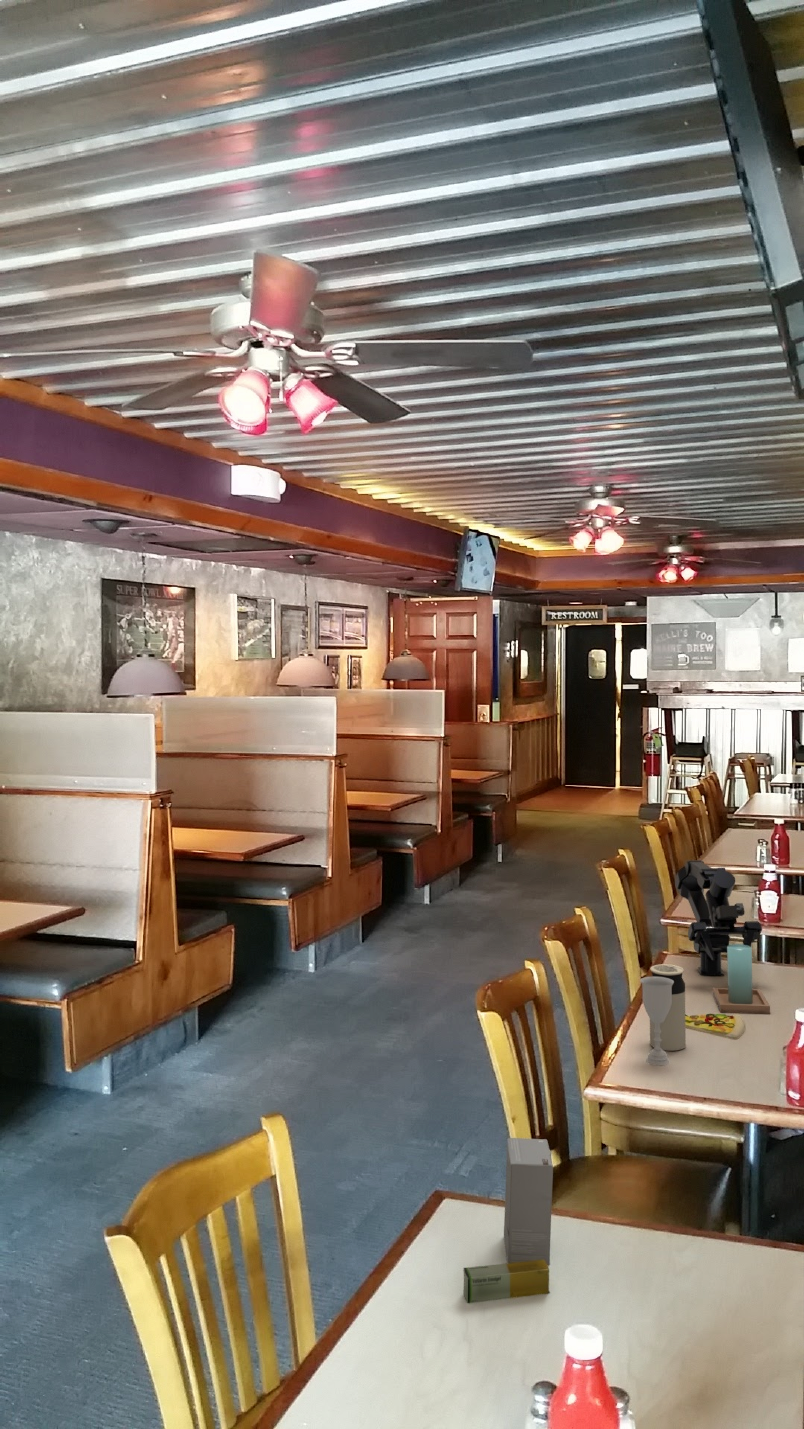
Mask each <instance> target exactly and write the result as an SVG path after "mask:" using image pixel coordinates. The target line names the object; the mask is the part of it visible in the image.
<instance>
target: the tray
mask: <svg viewBox="0 0 804 1429" xmlns="http://www.w3.org/2000/svg"><path fill="white" fill-rule="evenodd" d="M712 991H713V992H712V995H713V998H714V1001H715V1003H716V1005H718V1006H717V1008H718V1010H719V1012H720V1014H721V1013H722V1014H755V1015H758V1014H759V1015H770V1014H771V1005H770V1004H769V1001H768V1000H767V999H766V998H767V997H766V996H765V995H764V993H763V991H762V990H761V989H760V988H753V1003H751V1004H733V1003H730V1002H729V1001H728V987H712Z"/></svg>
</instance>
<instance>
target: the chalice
mask: <svg viewBox="0 0 804 1429" xmlns="http://www.w3.org/2000/svg"><path fill="white" fill-rule="evenodd" d="M639 981H640V983H641V985H642V1004H643V1007H644V1009H645V1012H646V1014H647V1016H648V1018H649V1021H650V1020H651V1021H652V1022H654V1023H655V1030H654V1032H655V1038H654V1039H653V1040H654V1041H655V1044H656V1045H655V1047H653V1048H652V1049H651V1050H649V1052H648V1054H647V1058H646V1060H645V1061H646V1063H647V1064H650V1065H653V1066H666V1065H669V1064H670V1060H669V1057H668V1055H667V1051H664V1050H662V1049H661V1048H660V1041H661V1040H662V1039H661V1038H660V1033H661V1030H660V1023H662V1022H664V1020H665V1018H666V1016H667V1014H668V1012H669V1010H670V1007H671V1004H672V985H673V983H674V981H673V980H671V979H669V978H664V977H652V976H645V977H642V978H640V980H639Z"/></svg>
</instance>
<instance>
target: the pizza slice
mask: <svg viewBox="0 0 804 1429" xmlns="http://www.w3.org/2000/svg"><path fill="white" fill-rule="evenodd" d="M685 1029H688V1030H691V1031H697V1032H700V1033H703V1034H704V1033H705V1034H709V1035H714V1036H718V1037H722V1038H727V1039H730V1040H739V1039H740V1038H742V1036H743V1035H744V1034H745V1031H746V1023H745V1020H744V1019H743V1017H742V1016H741V1015H740V1014H739V1013H734V1014H733V1015H728V1014H727V1013H722V1014H721V1013H716V1014H714V1013H707V1014H698V1015H697V1014H694V1015H687V1014H686V1013H685Z"/></svg>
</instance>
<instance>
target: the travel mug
mask: <svg viewBox="0 0 804 1429" xmlns="http://www.w3.org/2000/svg"><path fill="white" fill-rule="evenodd" d="M649 969H650V971H651V977H664V978H669V979H671V980H673V981H674V983H673V985H672V1004H671V1007H670V1010H669V1012H668V1014H667V1016H666V1018H665V1020H664V1022H662V1023H660V1030H661V1033H660V1038H661V1039H662V1040H661V1041H660V1048H661V1049H662V1050H664V1051H665V1052H676V1051H680V1050H682V1049H684V1048H685V1047H686V1041H687V1040H686V1038H687V1036H686V1035H687V1034H686V1028H685V1014H686V983H685V981H684V978H683V973H684V971H685V970H684V968H683V967H682V966H679V965H674V964H669V963H668V964H666V963H665V964H664V963H663V964H660V963H659V964H656V965H652V966H651V967H650V968H649ZM654 1030H655V1023H654V1022H652V1021H651V1020H650V1019H649V1043H650V1044H649V1045H651V1047H653V1048H655V1045H656V1044H655V1041H654V1040H653V1039H654V1038H655V1032H654Z"/></svg>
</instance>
